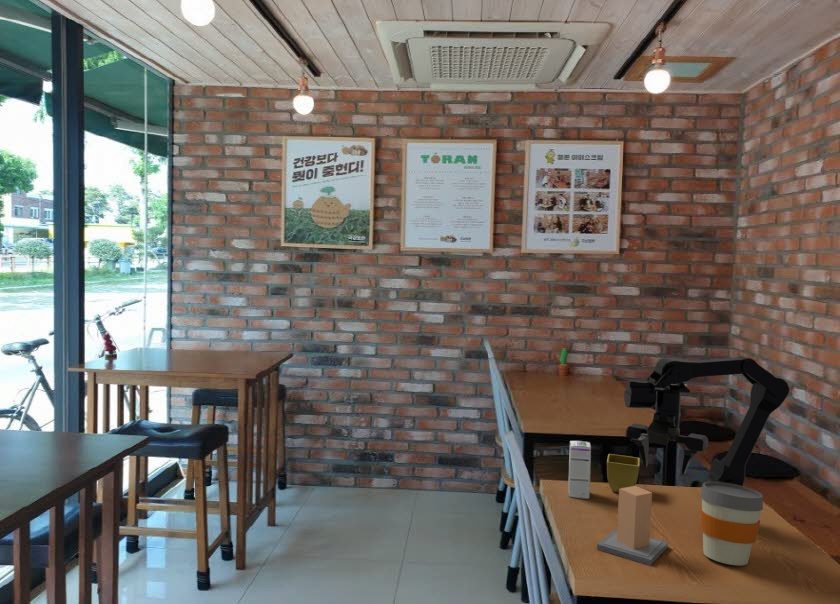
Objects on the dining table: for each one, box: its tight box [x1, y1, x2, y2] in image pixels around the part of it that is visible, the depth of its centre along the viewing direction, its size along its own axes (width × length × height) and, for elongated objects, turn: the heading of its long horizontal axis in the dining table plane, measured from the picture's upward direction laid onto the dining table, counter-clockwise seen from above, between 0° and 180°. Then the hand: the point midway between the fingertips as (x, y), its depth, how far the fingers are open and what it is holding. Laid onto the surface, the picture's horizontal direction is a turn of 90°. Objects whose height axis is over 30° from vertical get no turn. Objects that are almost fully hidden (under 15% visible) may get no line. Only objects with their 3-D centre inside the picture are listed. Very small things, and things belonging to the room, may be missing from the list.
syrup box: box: [567, 440, 592, 500], centre depth 183 cm, size 6×6×14 cm
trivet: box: [596, 527, 669, 566], centre depth 149 cm, size 12×12×1 cm
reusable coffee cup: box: [699, 481, 764, 566], centre depth 146 cm, size 13×13×15 cm
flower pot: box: [606, 453, 641, 493], centre depth 188 cm, size 9×9×9 cm
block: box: [616, 485, 653, 549], centre depth 149 cm, size 5×5×12 cm
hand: (664, 470), depth 165 cm, fingers open, 9 cm apart
